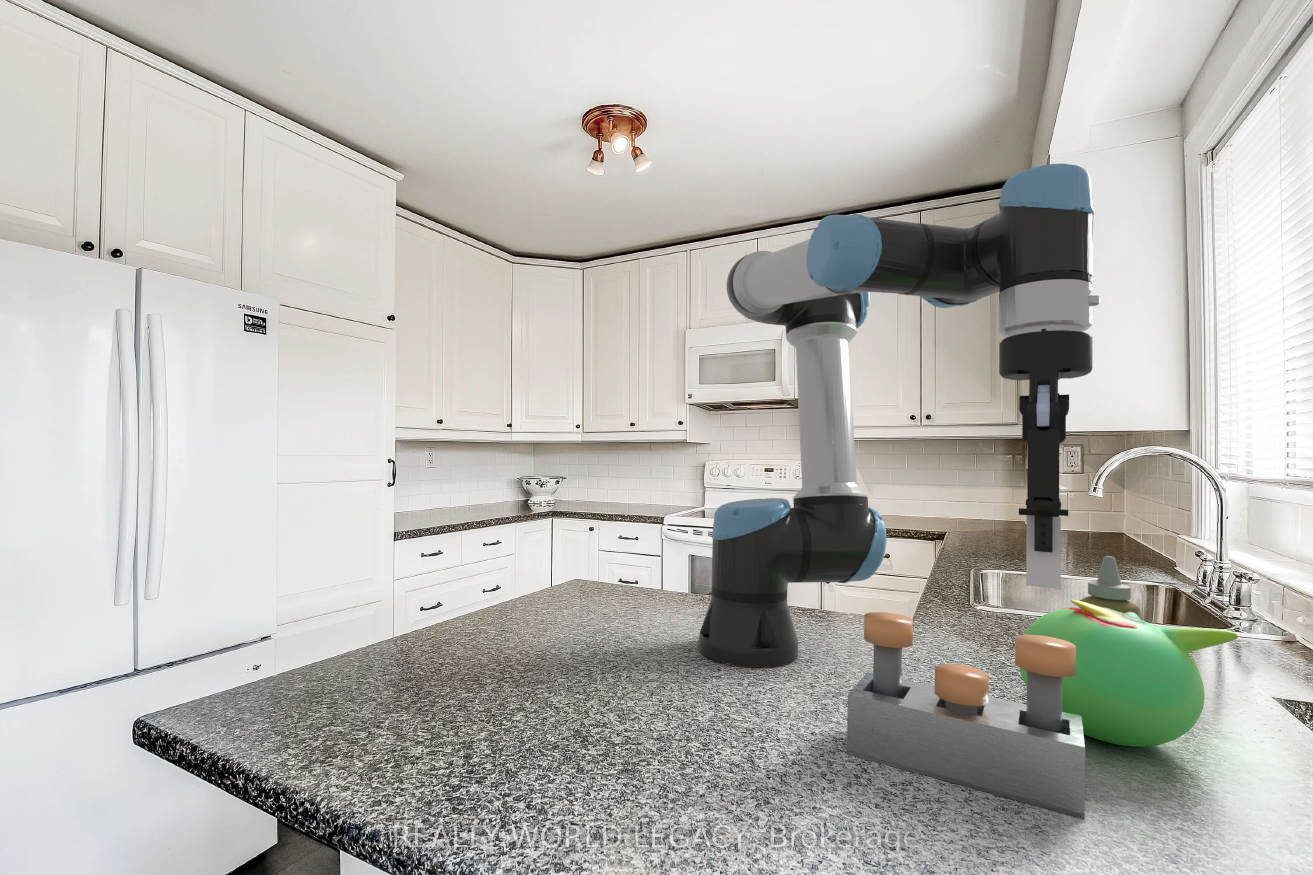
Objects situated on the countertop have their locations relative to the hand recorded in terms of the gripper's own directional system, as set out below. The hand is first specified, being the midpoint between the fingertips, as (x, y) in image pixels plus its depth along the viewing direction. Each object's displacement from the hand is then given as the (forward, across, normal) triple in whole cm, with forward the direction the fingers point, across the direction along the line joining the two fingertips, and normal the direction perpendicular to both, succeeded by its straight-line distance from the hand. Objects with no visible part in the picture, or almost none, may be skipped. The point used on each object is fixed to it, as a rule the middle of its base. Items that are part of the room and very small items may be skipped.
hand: (1043, 585), depth 59 cm
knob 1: (+13, 0, +14) cm, 19 cm away
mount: (+19, 0, +7) cm, 20 cm away
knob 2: (+13, 0, 0) cm, 13 cm away
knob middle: (+17, 0, +7) cm, 18 cm away
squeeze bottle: (+19, +34, -7) cm, 40 cm away
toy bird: (+19, +18, -6) cm, 27 cm away
